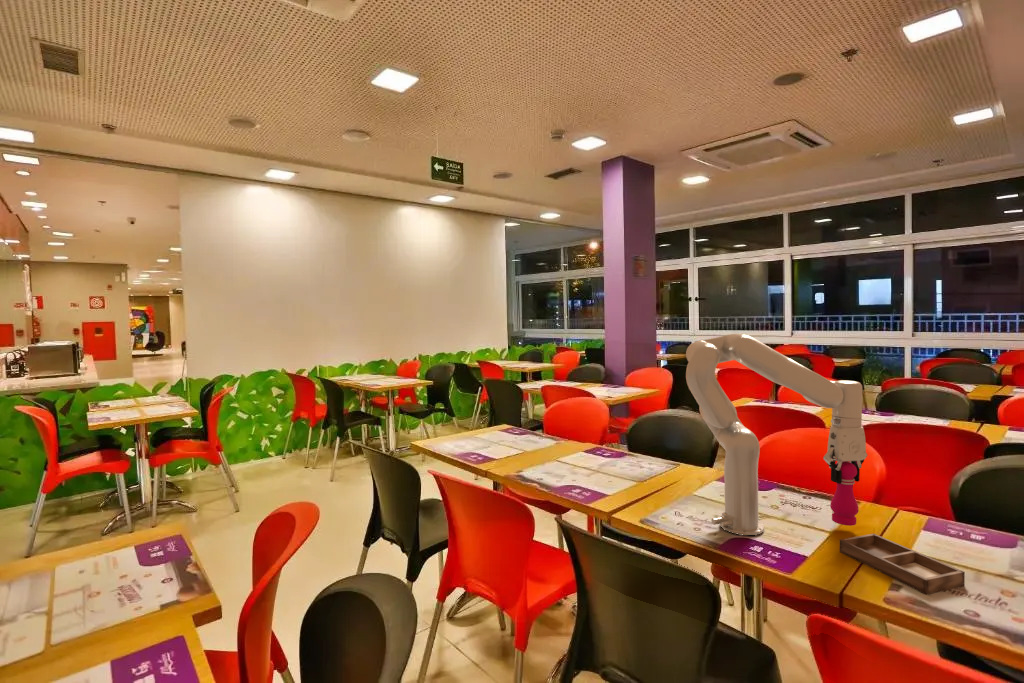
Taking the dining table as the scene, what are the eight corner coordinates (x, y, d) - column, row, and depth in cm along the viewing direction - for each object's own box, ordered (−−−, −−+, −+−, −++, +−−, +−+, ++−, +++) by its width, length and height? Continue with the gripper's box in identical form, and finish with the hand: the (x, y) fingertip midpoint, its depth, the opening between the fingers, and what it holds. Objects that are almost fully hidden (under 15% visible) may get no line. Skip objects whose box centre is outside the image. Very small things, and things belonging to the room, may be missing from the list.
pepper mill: (863, 526, 155) (865, 459, 154) (839, 526, 155) (840, 459, 154) (848, 517, 162) (850, 453, 161) (824, 517, 162) (826, 453, 161)
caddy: (926, 594, 122) (926, 580, 122) (839, 552, 145) (839, 539, 145) (964, 586, 125) (964, 571, 125) (873, 545, 148) (873, 533, 148)
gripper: (833, 426, 151) (832, 487, 152) (880, 422, 155) (879, 482, 156) (812, 421, 158) (811, 480, 159) (858, 418, 163) (856, 475, 163)
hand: (845, 480), depth 158 cm, fingers closed on pepper mill, 6 cm apart
